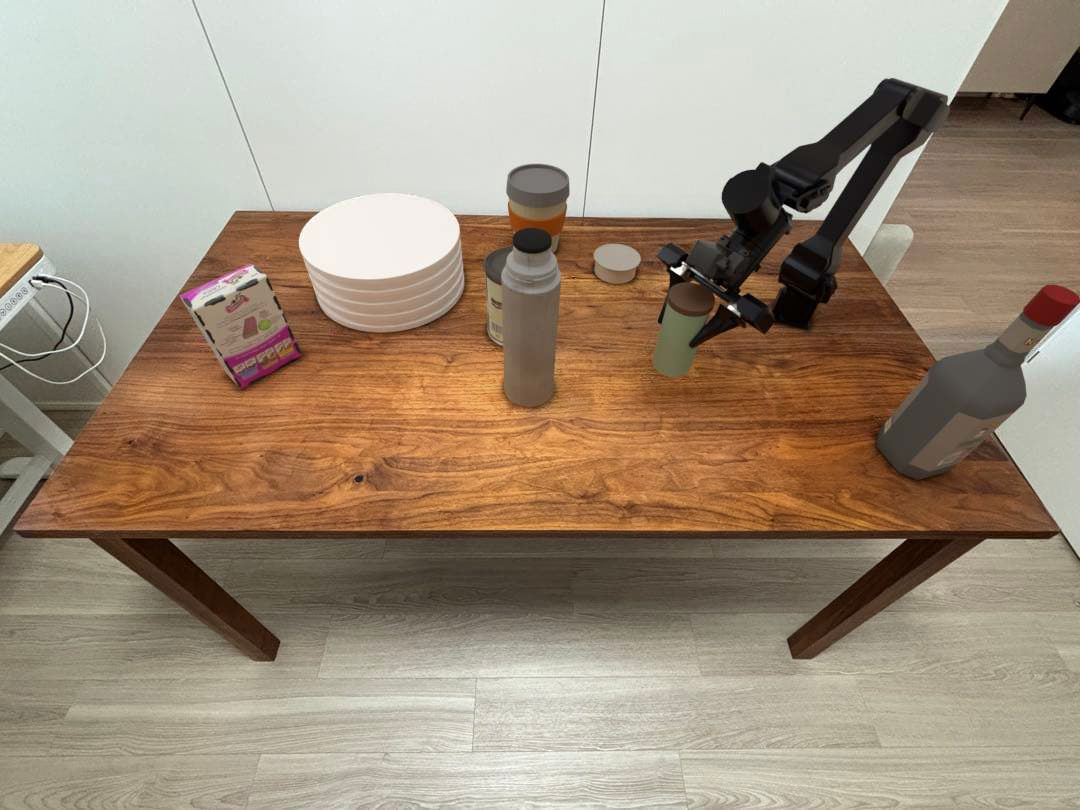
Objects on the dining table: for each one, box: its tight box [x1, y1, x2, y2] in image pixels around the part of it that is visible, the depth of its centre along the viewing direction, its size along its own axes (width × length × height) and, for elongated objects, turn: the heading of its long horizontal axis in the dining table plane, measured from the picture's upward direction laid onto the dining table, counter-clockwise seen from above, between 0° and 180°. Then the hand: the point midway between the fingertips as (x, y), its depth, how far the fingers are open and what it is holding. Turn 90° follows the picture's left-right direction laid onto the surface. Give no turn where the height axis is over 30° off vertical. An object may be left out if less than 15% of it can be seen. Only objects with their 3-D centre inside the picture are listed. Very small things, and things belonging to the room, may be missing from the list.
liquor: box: [876, 284, 1080, 481], centre depth 70 cm, size 9×9×30 cm
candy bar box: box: [179, 263, 303, 390], centre depth 83 cm, size 11×5×16 cm, turn 137°
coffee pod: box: [593, 243, 641, 285], centre depth 109 cm, size 9×9×4 cm
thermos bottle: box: [501, 228, 562, 408], centre depth 77 cm, size 8×8×28 cm
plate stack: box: [298, 192, 465, 333], centre depth 100 cm, size 28×28×12 cm
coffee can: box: [483, 245, 513, 347], centre depth 92 cm, size 10×10×14 cm
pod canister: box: [651, 282, 716, 378], centre depth 79 cm, size 6×6×13 cm
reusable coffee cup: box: [505, 163, 571, 254], centre depth 109 cm, size 12×13×15 cm
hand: (674, 335), depth 78 cm, fingers closed on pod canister, 6 cm apart
